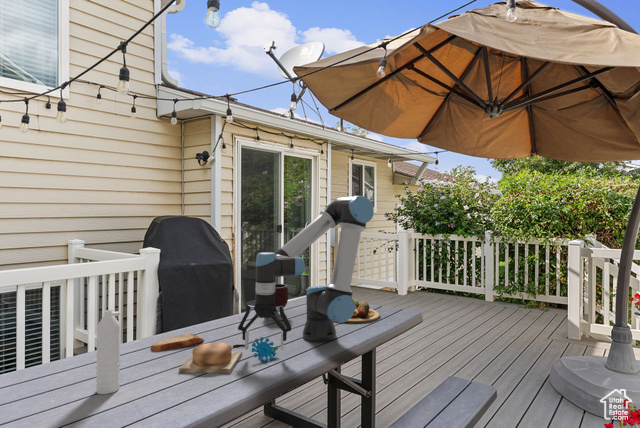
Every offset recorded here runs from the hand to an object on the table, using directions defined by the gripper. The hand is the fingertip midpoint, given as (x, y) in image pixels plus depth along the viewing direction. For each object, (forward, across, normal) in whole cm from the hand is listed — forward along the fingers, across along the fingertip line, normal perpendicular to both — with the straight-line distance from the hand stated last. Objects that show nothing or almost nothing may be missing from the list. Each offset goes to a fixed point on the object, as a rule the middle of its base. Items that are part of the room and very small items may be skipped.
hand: (264, 348), depth 152 cm
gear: (+4, 0, 0) cm, 4 cm away
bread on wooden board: (+4, -19, -5) cm, 20 cm away
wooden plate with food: (+3, +36, +67) cm, 76 cm away
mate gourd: (+4, -5, +62) cm, 63 cm away
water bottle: (+5, -44, -29) cm, 52 cm away
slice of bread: (+5, -39, +16) cm, 43 cm away
